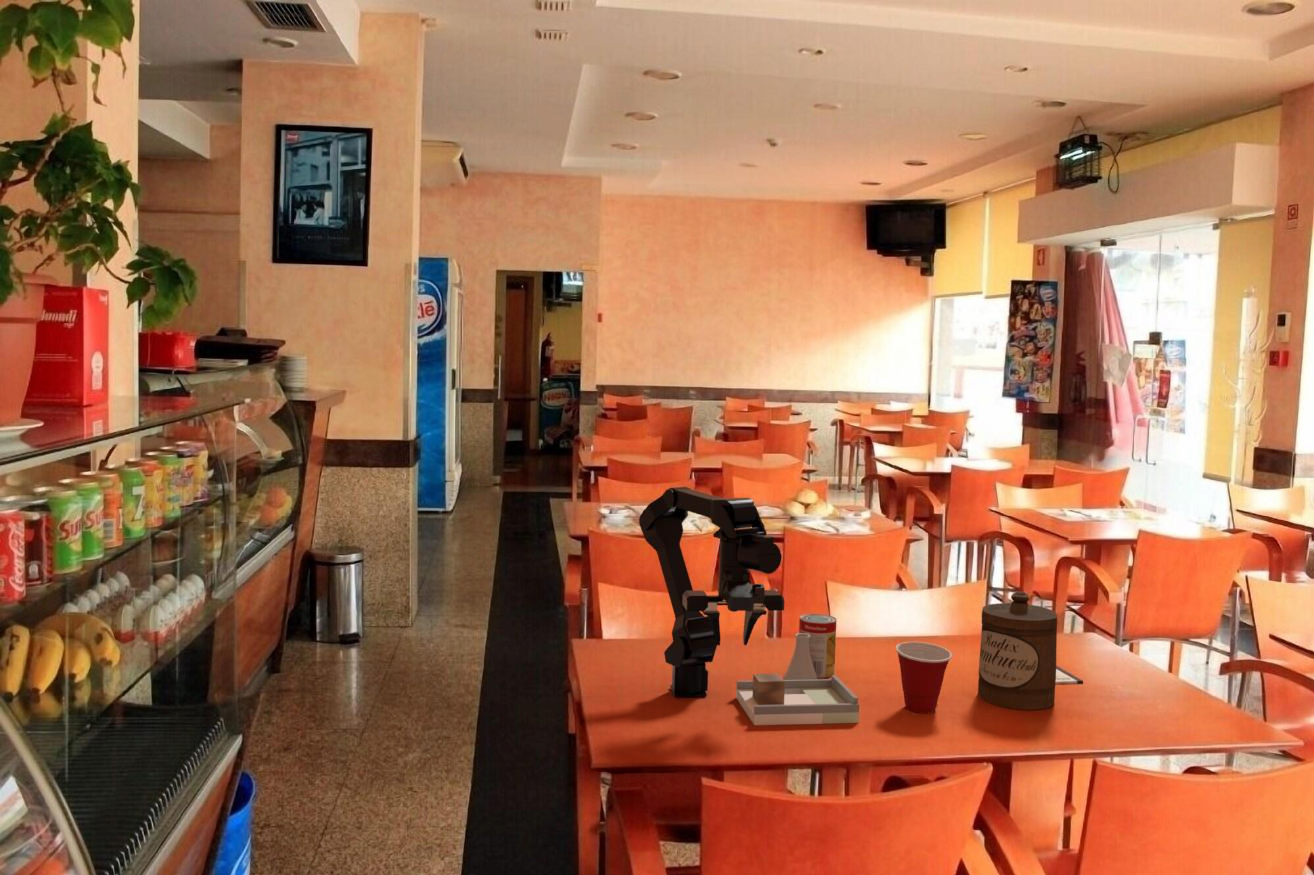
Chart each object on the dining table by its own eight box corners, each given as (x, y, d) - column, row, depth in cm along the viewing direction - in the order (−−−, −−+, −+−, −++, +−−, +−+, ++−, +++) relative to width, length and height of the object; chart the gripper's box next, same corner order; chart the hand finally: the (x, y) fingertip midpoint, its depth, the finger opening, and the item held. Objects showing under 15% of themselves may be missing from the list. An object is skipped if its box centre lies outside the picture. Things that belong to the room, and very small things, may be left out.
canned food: (833, 668, 246) (835, 614, 245) (835, 679, 238) (837, 623, 237) (797, 666, 247) (799, 612, 246) (798, 677, 239) (800, 621, 238)
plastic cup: (917, 721, 213) (920, 659, 212) (881, 704, 222) (884, 644, 221) (961, 713, 218) (964, 653, 217) (924, 697, 227) (926, 639, 226)
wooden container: (963, 696, 229) (968, 589, 227) (1004, 683, 238) (1009, 581, 237) (1028, 715, 218) (1034, 604, 216) (1068, 701, 227) (1074, 594, 225)
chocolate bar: (1041, 657, 257) (1083, 680, 240) (1041, 661, 257) (1082, 685, 240) (1004, 658, 256) (1043, 681, 238) (1004, 662, 256) (1043, 686, 238)
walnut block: (758, 704, 214) (759, 681, 213) (752, 696, 219) (753, 673, 218) (784, 704, 214) (784, 681, 214) (777, 696, 219) (778, 673, 219)
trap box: (754, 725, 208) (755, 701, 208) (736, 697, 224) (736, 675, 223) (858, 722, 211) (859, 699, 211) (833, 695, 227) (834, 674, 226)
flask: (817, 688, 232) (819, 640, 231) (781, 685, 233) (783, 637, 232) (819, 678, 239) (821, 631, 238) (785, 675, 240) (786, 629, 239)
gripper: (693, 573, 204) (690, 657, 205) (793, 572, 206) (790, 656, 208) (683, 561, 215) (680, 641, 216) (778, 560, 217) (775, 639, 219)
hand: (731, 644), depth 214 cm, fingers open, 5 cm apart
